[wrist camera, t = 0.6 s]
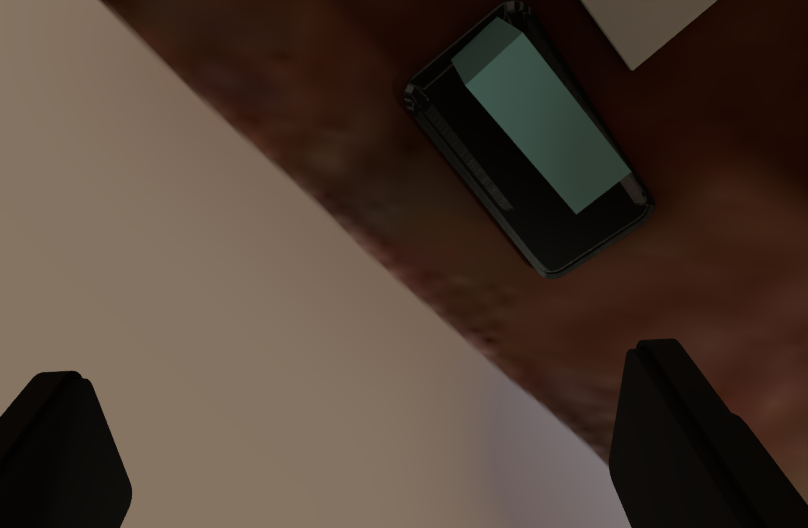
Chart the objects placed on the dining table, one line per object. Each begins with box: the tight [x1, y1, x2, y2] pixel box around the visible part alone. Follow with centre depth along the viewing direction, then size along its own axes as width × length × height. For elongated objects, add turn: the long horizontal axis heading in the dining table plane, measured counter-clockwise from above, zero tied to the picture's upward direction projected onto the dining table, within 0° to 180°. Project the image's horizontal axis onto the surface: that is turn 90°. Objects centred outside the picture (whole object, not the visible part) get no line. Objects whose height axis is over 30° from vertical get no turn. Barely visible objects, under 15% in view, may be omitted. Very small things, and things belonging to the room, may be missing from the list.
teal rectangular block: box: [451, 17, 631, 214], centre depth 28 cm, size 8×3×7 cm, turn 43°
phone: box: [404, 0, 655, 279], centre depth 33 cm, size 8×1×15 cm
